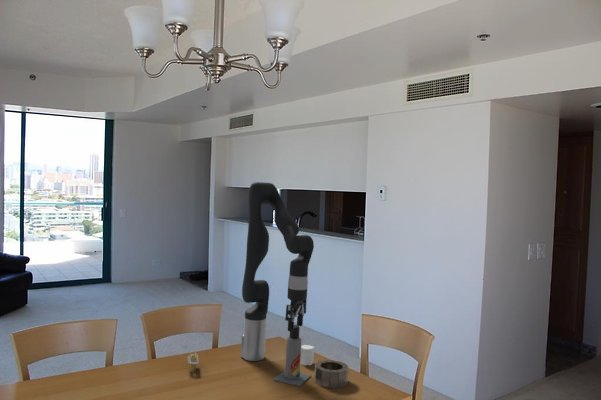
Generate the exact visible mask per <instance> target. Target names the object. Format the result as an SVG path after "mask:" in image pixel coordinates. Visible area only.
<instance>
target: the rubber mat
mask: <svg viewBox="0 0 601 400" xmlns="http://www.w3.org/2000/svg"><path fill="white" fill-rule="evenodd" d="M311 377H312V375H311V374H306V373H303V372H300V376H299V378H298V379H295V380H291V379H287V378H286V377H285V370H284V371H282V372H281V373H280V374H278V375H277V376H276V377H274V378H273V381H274V382H275V381H276V382H280V383H284V384H287V385H292V386H297V387H301V386H302V385H304V383H305V382H307V380H309V379H310V378H311Z"/></svg>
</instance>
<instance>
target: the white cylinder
mask: <svg viewBox="0 0 601 400" xmlns="http://www.w3.org/2000/svg"><path fill="white" fill-rule="evenodd" d="M315 349H316V346H314V345H312V344H301V359H300V366H304V367H305V366H306V365H309V366H311V365H313V364H314V356H315Z"/></svg>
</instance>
